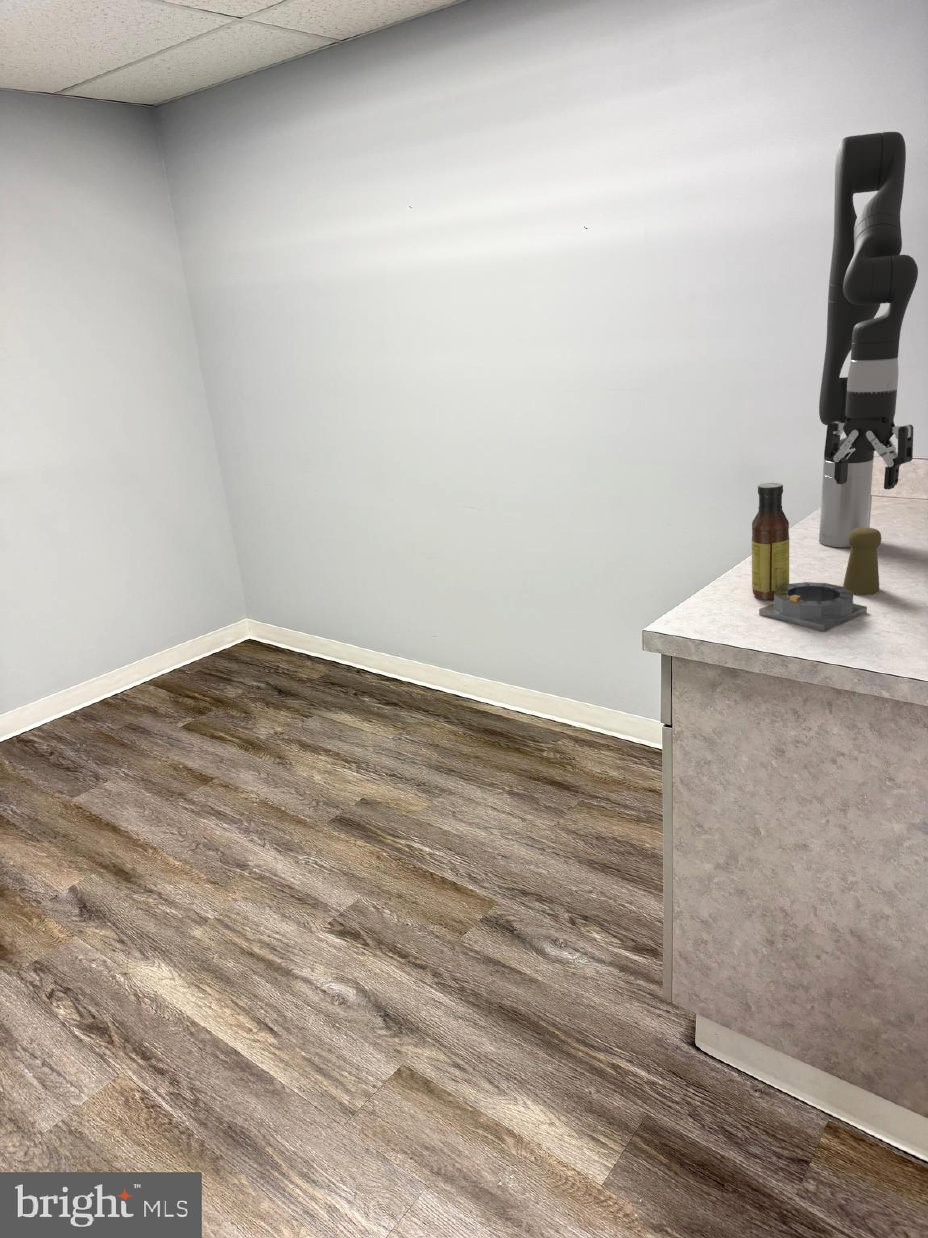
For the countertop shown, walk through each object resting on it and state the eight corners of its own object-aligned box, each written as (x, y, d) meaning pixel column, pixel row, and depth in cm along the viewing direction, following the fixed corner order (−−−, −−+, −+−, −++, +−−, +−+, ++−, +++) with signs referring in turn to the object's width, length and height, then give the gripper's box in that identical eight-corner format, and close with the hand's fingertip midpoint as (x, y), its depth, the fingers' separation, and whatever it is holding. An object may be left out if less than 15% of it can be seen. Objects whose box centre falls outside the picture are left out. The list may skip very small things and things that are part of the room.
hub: (801, 597, 157) (803, 573, 155) (866, 612, 147) (868, 587, 146) (759, 614, 150) (760, 590, 149) (824, 631, 141) (825, 605, 139)
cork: (883, 594, 155) (888, 532, 151) (845, 595, 156) (850, 533, 152) (875, 584, 160) (880, 523, 157) (839, 584, 162) (843, 524, 158)
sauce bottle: (788, 590, 160) (794, 480, 154) (788, 602, 155) (794, 488, 148) (750, 589, 162) (754, 480, 156) (748, 600, 157) (752, 488, 150)
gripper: (927, 385, 143) (917, 486, 149) (844, 384, 154) (838, 478, 160) (902, 391, 139) (893, 494, 144) (819, 389, 150) (813, 485, 155)
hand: (864, 485), depth 152 cm, fingers open, 8 cm apart
